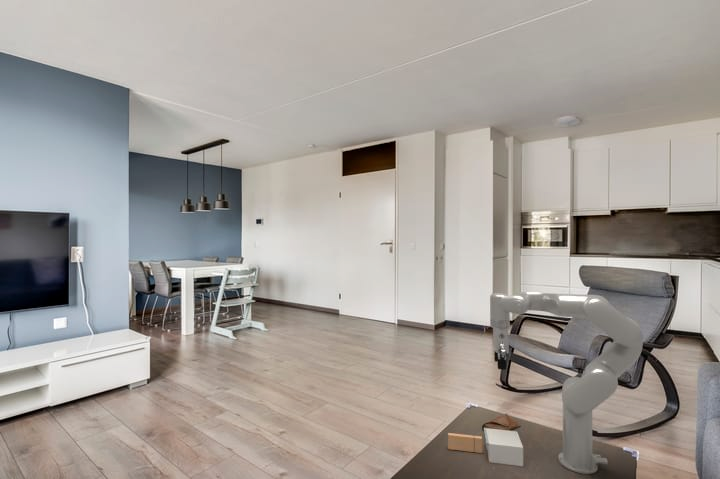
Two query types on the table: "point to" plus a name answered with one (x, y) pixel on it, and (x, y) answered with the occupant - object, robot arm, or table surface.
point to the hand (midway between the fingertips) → (500, 365)
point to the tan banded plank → (465, 442)
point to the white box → (504, 447)
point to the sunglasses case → (501, 423)
